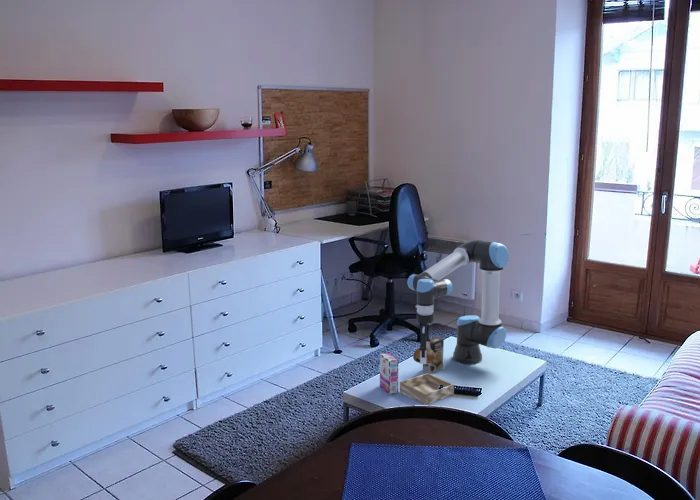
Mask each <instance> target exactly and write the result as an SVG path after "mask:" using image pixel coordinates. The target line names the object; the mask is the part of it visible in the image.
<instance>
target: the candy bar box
mask: <svg viewBox="0 0 700 500" xmlns="http://www.w3.org/2000/svg"><path fill="white" fill-rule="evenodd" d="M379 387H381V389H382V390H383V391H384V392H386V393H387V394H388V396H389V395H396V394H399V359H398V358H396V357H395V356H393V355H392V354H391V353H389V352H385V353H383V352H382V353H380V354H379Z"/></svg>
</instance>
